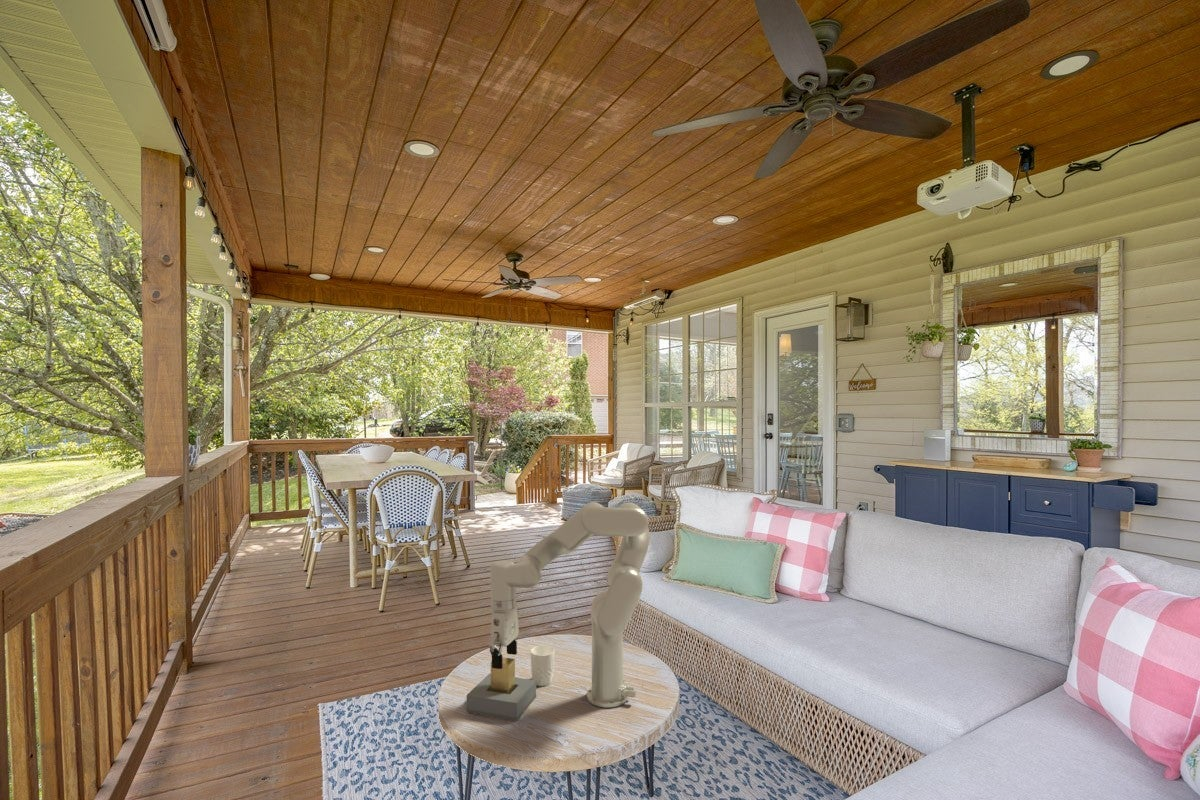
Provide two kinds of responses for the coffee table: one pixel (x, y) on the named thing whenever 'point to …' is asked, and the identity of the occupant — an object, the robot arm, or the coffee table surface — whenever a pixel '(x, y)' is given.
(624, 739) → the coffee table surface
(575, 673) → the coffee table surface
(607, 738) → the coffee table surface
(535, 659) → the white cup
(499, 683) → the tall yellow pillar
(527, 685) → the well block
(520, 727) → the coffee table surface
